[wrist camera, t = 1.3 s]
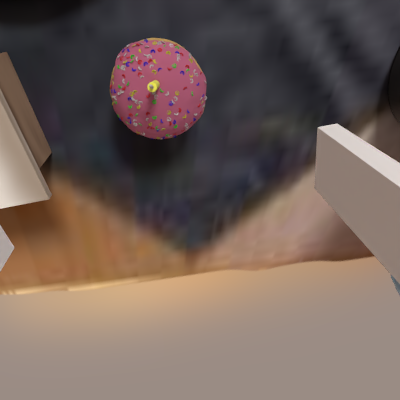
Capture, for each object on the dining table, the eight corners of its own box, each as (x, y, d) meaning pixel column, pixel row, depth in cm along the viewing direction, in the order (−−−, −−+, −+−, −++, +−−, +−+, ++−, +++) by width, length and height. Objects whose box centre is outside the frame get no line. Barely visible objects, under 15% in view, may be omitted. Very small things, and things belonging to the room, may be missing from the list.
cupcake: (101, 47, 29) (71, 67, 19) (189, 23, 29) (206, 29, 18) (133, 133, 33) (122, 186, 23) (209, 112, 33) (231, 157, 23)
